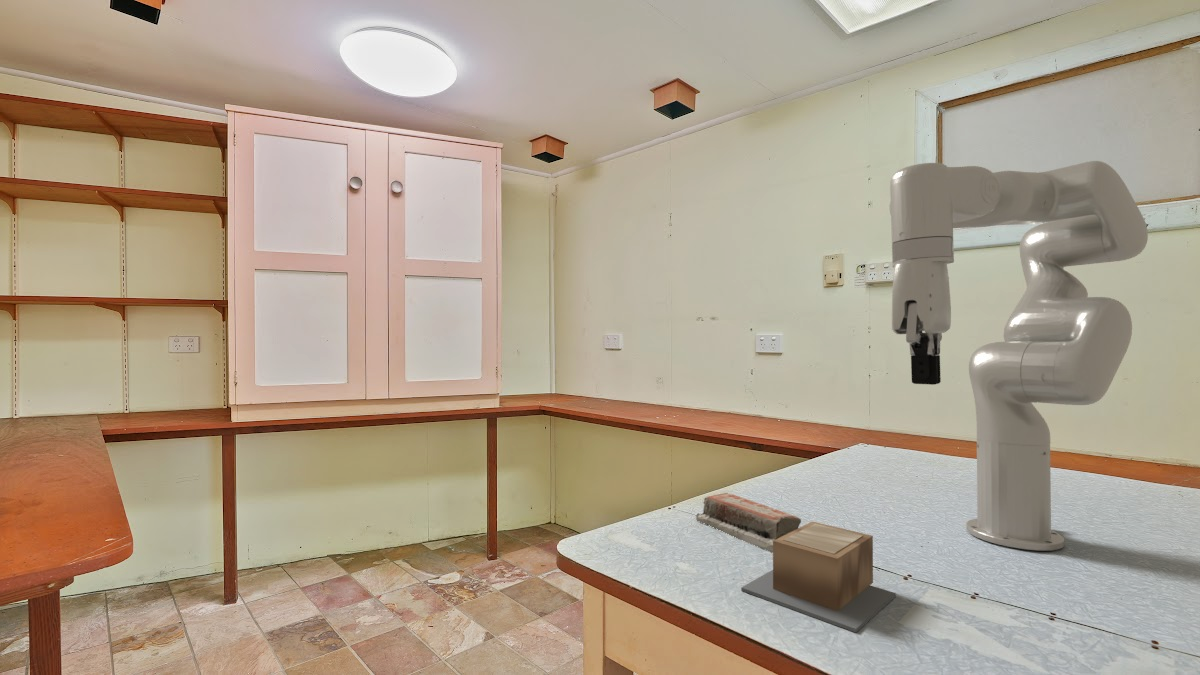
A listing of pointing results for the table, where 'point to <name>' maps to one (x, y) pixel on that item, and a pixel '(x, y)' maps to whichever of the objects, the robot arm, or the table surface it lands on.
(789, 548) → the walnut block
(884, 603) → the mat
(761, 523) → the packaged product
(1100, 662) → the table surface
